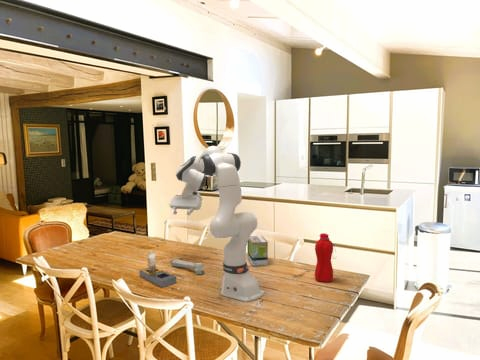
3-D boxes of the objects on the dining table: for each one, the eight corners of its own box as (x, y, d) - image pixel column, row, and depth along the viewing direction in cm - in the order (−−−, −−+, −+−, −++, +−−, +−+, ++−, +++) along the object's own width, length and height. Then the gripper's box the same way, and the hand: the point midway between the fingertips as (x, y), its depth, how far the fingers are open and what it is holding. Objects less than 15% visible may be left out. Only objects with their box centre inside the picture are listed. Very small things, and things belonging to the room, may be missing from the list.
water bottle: (335, 284, 189) (335, 237, 186) (313, 281, 193) (314, 235, 190) (336, 277, 197) (337, 232, 194) (316, 275, 201) (316, 231, 198)
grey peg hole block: (176, 282, 195) (176, 276, 194) (162, 287, 188) (161, 280, 188) (153, 271, 211) (153, 265, 210) (139, 276, 205) (139, 269, 204)
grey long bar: (176, 258, 223) (205, 260, 207) (178, 269, 223) (206, 272, 207) (169, 260, 219) (198, 263, 203) (171, 271, 219) (200, 275, 203)
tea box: (268, 265, 218) (268, 241, 217) (251, 266, 217) (251, 242, 215) (262, 257, 233) (262, 234, 231) (247, 258, 231) (246, 235, 230)
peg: (157, 276, 203) (156, 252, 202) (151, 278, 201) (149, 254, 199) (153, 274, 206) (152, 251, 205) (147, 276, 203) (146, 252, 202)
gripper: (172, 192, 228) (164, 210, 220) (201, 193, 220) (194, 212, 212) (176, 197, 232) (168, 216, 224) (204, 199, 225) (198, 218, 217)
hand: (181, 214), depth 218 cm, fingers open, 8 cm apart
